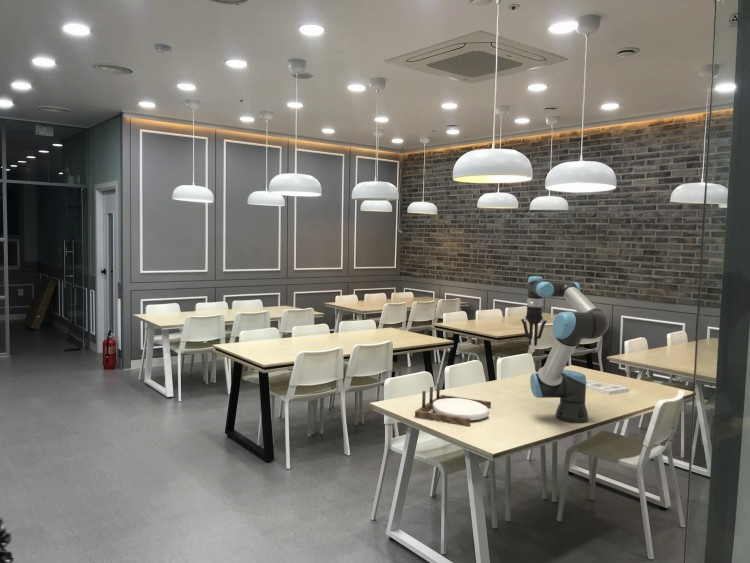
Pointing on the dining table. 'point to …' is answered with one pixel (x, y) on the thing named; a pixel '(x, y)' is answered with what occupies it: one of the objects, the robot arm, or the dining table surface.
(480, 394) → the dining table surface
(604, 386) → the holder
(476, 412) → the plate
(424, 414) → the plate rack
